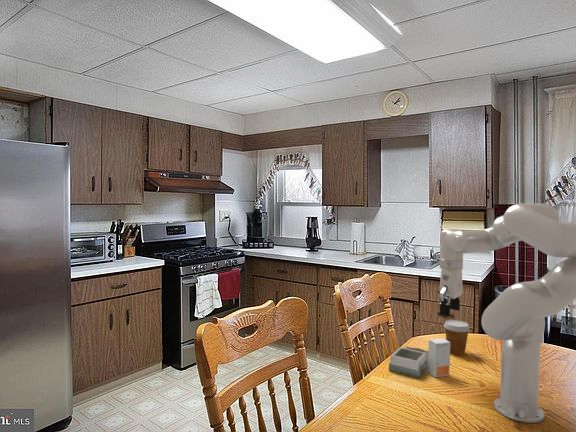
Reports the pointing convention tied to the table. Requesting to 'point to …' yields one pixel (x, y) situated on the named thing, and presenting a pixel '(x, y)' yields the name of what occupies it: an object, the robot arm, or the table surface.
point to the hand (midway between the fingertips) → (449, 312)
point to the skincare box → (439, 357)
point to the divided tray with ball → (409, 361)
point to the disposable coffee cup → (456, 336)
